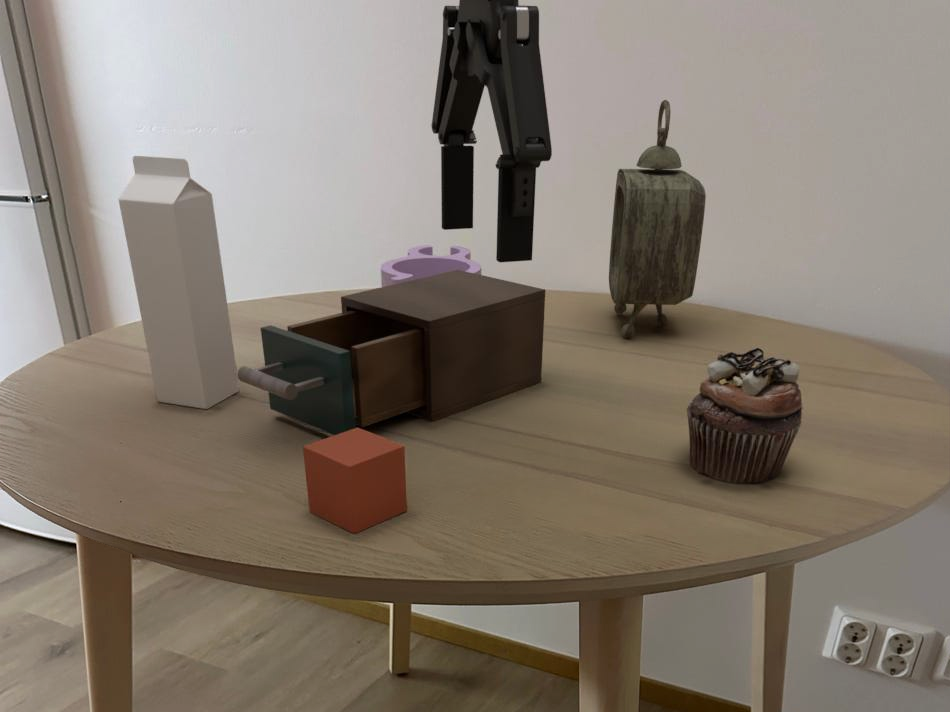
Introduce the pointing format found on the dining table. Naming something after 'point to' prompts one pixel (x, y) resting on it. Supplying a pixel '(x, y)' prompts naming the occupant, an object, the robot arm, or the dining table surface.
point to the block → (355, 479)
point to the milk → (179, 283)
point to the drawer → (342, 370)
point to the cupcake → (745, 418)
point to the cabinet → (466, 335)
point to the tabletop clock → (655, 231)
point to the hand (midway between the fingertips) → (483, 243)
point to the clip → (427, 264)
